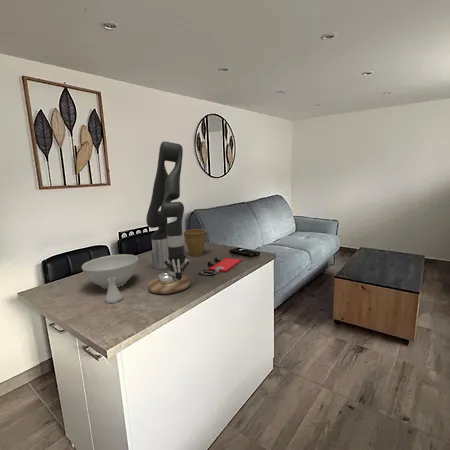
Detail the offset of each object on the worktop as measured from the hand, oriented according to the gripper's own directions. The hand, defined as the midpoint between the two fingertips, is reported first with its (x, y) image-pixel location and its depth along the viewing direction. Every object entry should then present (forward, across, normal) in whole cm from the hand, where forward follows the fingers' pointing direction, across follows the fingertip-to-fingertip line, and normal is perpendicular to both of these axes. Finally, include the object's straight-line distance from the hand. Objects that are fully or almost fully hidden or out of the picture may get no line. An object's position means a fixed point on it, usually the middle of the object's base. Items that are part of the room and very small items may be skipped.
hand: (179, 279), depth 141 cm
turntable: (+4, +5, 0) cm, 6 cm away
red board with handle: (+4, -14, -30) cm, 33 cm away
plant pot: (+4, +7, -55) cm, 56 cm away
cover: (+1, +6, 0) cm, 6 cm away
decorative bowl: (+4, +36, -2) cm, 36 cm away
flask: (+4, +25, +16) cm, 30 cm away
